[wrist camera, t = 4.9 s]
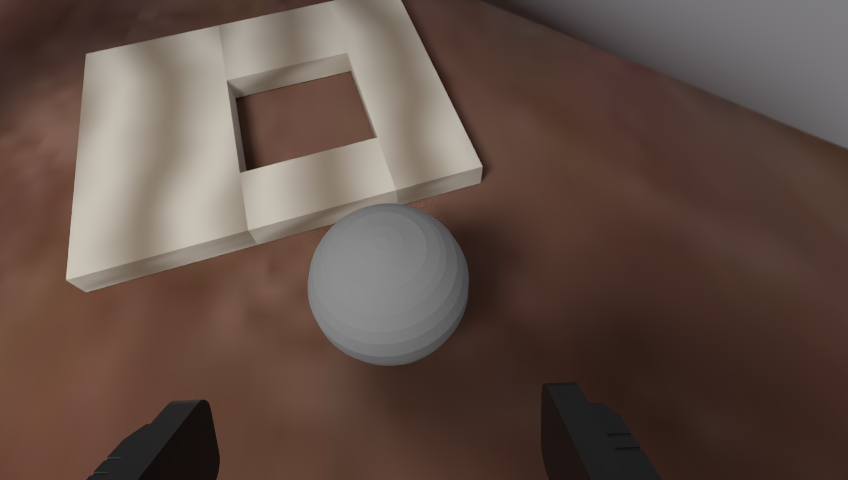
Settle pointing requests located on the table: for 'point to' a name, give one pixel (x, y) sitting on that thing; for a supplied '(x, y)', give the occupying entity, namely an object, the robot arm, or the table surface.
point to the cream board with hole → (222, 144)
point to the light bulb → (388, 284)
